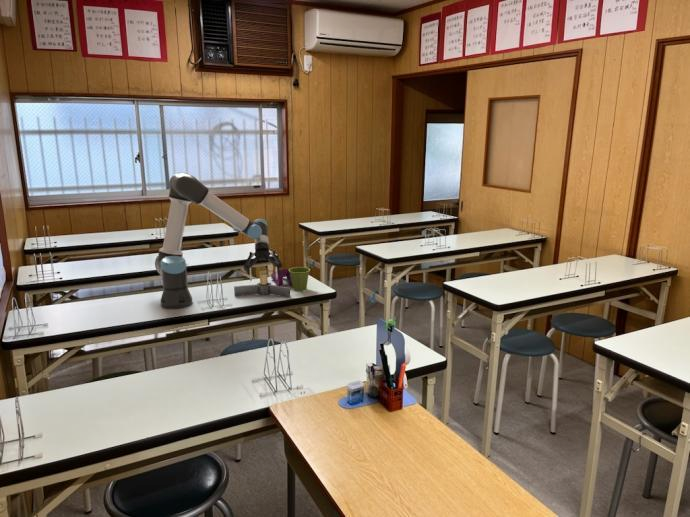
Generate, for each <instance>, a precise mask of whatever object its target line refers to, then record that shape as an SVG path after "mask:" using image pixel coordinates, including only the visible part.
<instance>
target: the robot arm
mask: <svg viewBox="0 0 690 517" xmlns="http://www.w3.org/2000/svg"><path fill="white" fill-rule="evenodd" d="M168 182H169V183H168V186H169V193H168V198H169V200H170V205H169V210H168V217H167V223H166V227H165V232H164V238H163V245H162V247H161V248H159V249H158V254H157V256H156V258H155V260H154V266H155V270H156V271H157V273H158V274H159V275H160V277H161V280H162V290H163V291H162V293H161V296H160V297H161V298H160V307H161V308H163V307H164V308H163V309H168V310H169V309H170V310H174V309H183V308H187V307H189V306H191V305H192V304H193V297H192V294H191V293H190V290H189V286H188V285H189V284H188V273H187V262H186V259H185V258H184V257H183V254H184V253H183V252H182V250H181V248H182V241H183V237H184V231H185V227H186V226H185V225H186V220H187V216H188V209H189V206H190V204H191V203H193V204H196V205H198V206H199V205H200V206H202V207H204V208H205V209H207V210H209V211H210V212H211V213H213V214H214V215H216V216H218V217H219V218H220V219H222V221H225V222H226V223H228V224H230V225H231V226H232V230H233V231H234V232H235V233H236V232H237V233H241V234H243V235H245V236H247V237H249V238H250V239H253V240H254V250H255V251H254V252H252V251H250V252H249V255H248V256H247V259H246V261H245V263H244V264H243V268H244V270H247V275H249V281H250V282H252V280H253V278H252V267H253V266H255V265H256V263H257V262H258V261H262V262H263V261H268V262H269V263H270V264H272V266H274V267H275V269H274V270H275V271H274V272H276V280H278V274H277V273H279V270H280V268H283V263H282V261H281V260H280V259H279V257H278V255H277V254H276V250H273V251H271V252H270V244H269V232H268V230H269V227H268V222H267V220H265V219H263V218H257V219H255V220H253V221H252V220H250V219H249V218H247V217H246V216H244V215H243V214H242V213H241V212H239V211H238V210H236V209H235V208H233V207H232V206H230V205H229V204H227V202H225V201H224V200H222V199H220V198H219V197H218V196H216V195H215V194H214V193H212V192H210V189H209V188H208V187H207V186H206V185H204V184H203V182H201V181H200V180H198V179H197V178H196V176H193V175H192V174H189V173H187V172H177V173H174V174H173V175H171V177H170V178H169V181H168ZM254 256H255V257H254ZM253 257H254V259H253V260H252V258H253Z"/></svg>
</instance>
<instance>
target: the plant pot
mask: <svg viewBox="0 0 690 517" xmlns="http://www.w3.org/2000/svg"><path fill="white" fill-rule="evenodd" d="M288 269H289V272H290V275H291V280H292V290H293V291H295V292H298V291H300V292H303V290H304V291H307V288H308V282H309V275H310V271H311V269H310V268H309V267H306V266H305V267H304V266H295V267H291V268H288Z"/></svg>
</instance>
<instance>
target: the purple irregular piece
mask: <svg viewBox="0 0 690 517" xmlns="http://www.w3.org/2000/svg"><path fill="white" fill-rule="evenodd" d="M289 269H290V268H286V269H279V273H277V274H278V280H276V271H274V272H273V273H271V274H270V276H271V279H272V280H274V282H275V286H282V287H283V286H284V278H286V282H287V284H288V285H289V286H290V285H292V280H291V275H290V272H289ZM283 277H284V278H283ZM292 286H293V285H292Z"/></svg>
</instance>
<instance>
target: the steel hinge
mask: <svg viewBox="0 0 690 517" xmlns="http://www.w3.org/2000/svg"><path fill="white" fill-rule="evenodd" d="M233 292H234V294H233V295H234V297H239V296H240V297H241V296H250V295H258V296H269V295H272V296H279V297H283V296H284V297H283V298H290V297H291V287H287V286H283V285H282V286H277V285H276V284H275V285H274V284H272V283H271V282H268V285H267V286H260V282H257V283H256V284H246V285H244V284H243V285H235V286H233Z"/></svg>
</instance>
